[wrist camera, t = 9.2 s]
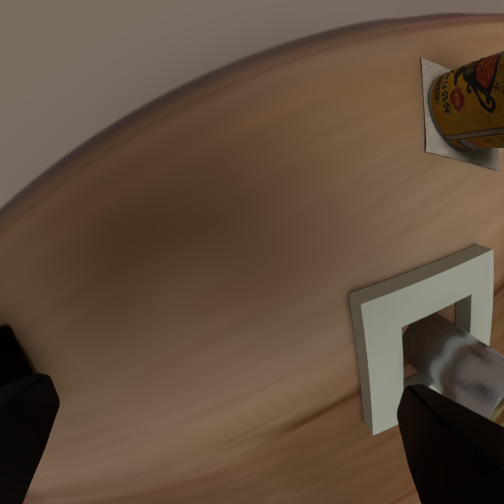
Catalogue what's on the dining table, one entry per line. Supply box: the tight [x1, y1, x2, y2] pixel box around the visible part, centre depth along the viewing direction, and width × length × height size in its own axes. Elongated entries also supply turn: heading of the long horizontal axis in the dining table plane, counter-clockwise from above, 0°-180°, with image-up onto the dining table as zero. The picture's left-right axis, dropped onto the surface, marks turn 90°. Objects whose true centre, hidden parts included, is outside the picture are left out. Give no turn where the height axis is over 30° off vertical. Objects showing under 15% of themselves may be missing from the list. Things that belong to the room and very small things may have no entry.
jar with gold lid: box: [402, 313, 504, 427], centre depth 16 cm, size 4×4×12 cm
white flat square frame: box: [348, 244, 494, 435], centre depth 21 cm, size 12×12×2 cm
